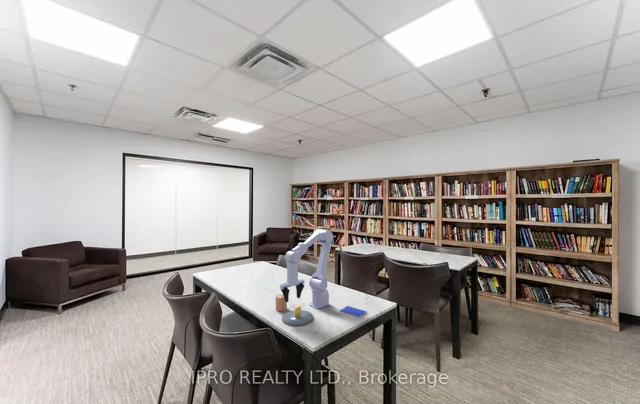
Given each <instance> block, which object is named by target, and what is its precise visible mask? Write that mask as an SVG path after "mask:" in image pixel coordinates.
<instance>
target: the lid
mask: <svg viewBox="0 0 640 404" xmlns="http://www.w3.org/2000/svg"><path fill="white" fill-rule="evenodd" d="M281 320H282V321H281V322H282V323H284V324H285V325H288V326H293V327H294V326H295V327H299V326H301V327H302V326H306V325H308V324H310V323H312V322H313V320H314V315H313V313H312V312H310V311H308V310H303V309H301V317H300V318H295V309H294V310H291V311H287V312H285V313H284V314H283V315H282V317H281Z"/></svg>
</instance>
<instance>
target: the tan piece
mask: <svg viewBox="0 0 640 404" xmlns="http://www.w3.org/2000/svg"><path fill="white" fill-rule="evenodd" d="M287 308H288V302H286V301H285V299H284V295H283V294H277V295H276V296H275V310H276V311H277V312H283V311H286V310H287Z"/></svg>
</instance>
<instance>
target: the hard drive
mask: <svg viewBox="0 0 640 404" xmlns="http://www.w3.org/2000/svg"><path fill="white" fill-rule="evenodd" d="M339 313H342V314H345V315H348V316H350V317H354V318H357V319H360V317H361V318H362V317H363V316H365V315H366V314H367V313H368V311H367V310H363V309H359V308H358V307H352V306H350V305H346V306H345V307H343V308H341V309H339Z"/></svg>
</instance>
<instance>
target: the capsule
mask: <svg viewBox="0 0 640 404" xmlns="http://www.w3.org/2000/svg"><path fill="white" fill-rule="evenodd" d="M294 310H295V318H300V317H301V310H302V306H301V305H295V306H294Z"/></svg>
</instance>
